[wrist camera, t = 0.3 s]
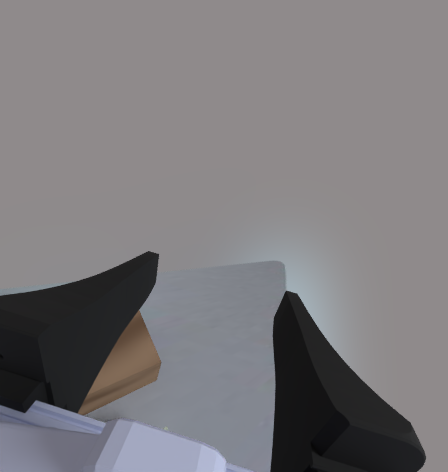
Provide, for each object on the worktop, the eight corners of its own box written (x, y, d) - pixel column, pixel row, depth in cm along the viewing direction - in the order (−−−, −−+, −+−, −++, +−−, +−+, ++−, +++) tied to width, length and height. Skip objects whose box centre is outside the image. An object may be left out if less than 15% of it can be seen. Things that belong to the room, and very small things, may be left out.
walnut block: (156, 381, 27) (161, 362, 25) (62, 427, 22) (59, 407, 20) (132, 319, 33) (134, 300, 31) (52, 344, 28) (49, 322, 26)
